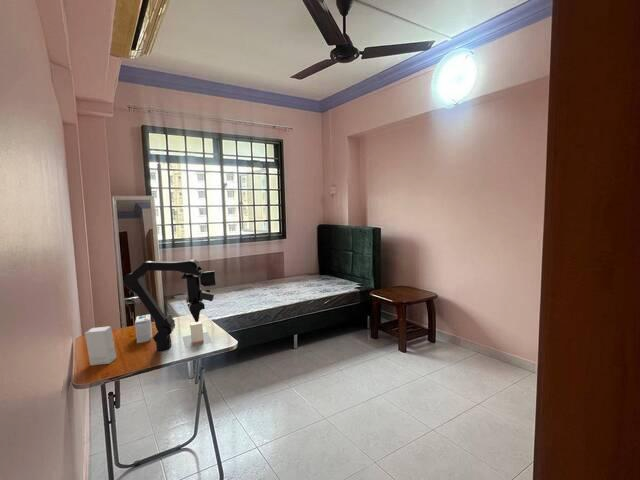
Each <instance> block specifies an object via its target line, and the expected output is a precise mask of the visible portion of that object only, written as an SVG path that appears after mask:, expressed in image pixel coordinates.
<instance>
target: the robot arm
mask: <svg viewBox="0 0 640 480" xmlns="http://www.w3.org/2000/svg"><path fill="white" fill-rule="evenodd" d="M150 271H153V272H154V271H158V272H160V271H161V272H165V271H167V272H168V271H169V272H170V271H171V272H179V273H183V275H182V276H181V277H180V279H181V280H185V282H186V283H185V284H186V294H187V296H186V297H185V302H186V304H187V307H188V308H187V309H188V311H189V312H190V315H192V316H191V317H192V318H193V320H194V322H198V321H200V320H199V319H200V315H201V311H202V310H205V309H206V308H205V306H206V305H205V303H204V302H203V301H209V302H213V301H214V297H215V294H214V293H213V292H211V290H210V288H209V289H208V288H206V289H205V290H202V288H201V286H203V287H213V286H215V287H216V286H217V285H218V277H217V273H216V270H210V271H205V270H204V269H203V268H202V266H200V263H199V261H198V260H196V259H195V258H191V259H185V260H180V261H157V260H156V261H153V260H147V261H144V262H142V263H141V265H140V266H138V267H137V268H136V269H135V270H134V271H132V272H130V273H127V274H125V276H124V277H123V279H122V280H123V281H122V283H123V285H124V286H125V287H126V288H127V289H128V290H129V291H131V292H132V293H134V294H135V295H136V296H137V298H138V299H139V300H140V301H141V303H142V305H143V306H144V308H146V310H147V312H148V313H149V314H150V317H152V318H153V320H154V325H155V328H156V333H155V334H154V336H152V339H153V341H154V342H155V347H156V352H165V351H168V350H170V349H171V348H172V338H171V334H172V332H173V331H174V329H175V328H176V323H175V322H176V320H175V319H174V318H173V316H172V314H168V315H167V314H165V313H164V312H163V310H162V309H161V307H160V306H159V304H158V303H157V302H156V300H155V299H154V297H153V295H151V293H150V292H149V290H148V289H147V286H146V282H145V279H144V276H146V275H147V273H149V272H150Z"/></svg>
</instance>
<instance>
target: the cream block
mask: <svg viewBox="0 0 640 480" xmlns="http://www.w3.org/2000/svg"><path fill="white" fill-rule="evenodd" d="M202 325H203V322H202V320H199V321H198V322H195V321H194V322H193V321H192V322H190V323H189V328H190V329H191V340H192V344H196V343H201V342H204V339H203V328H202Z"/></svg>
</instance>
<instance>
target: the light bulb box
mask: <svg viewBox="0 0 640 480" xmlns="http://www.w3.org/2000/svg"><path fill="white" fill-rule="evenodd" d="M151 317H152V316H151V315H150V313H149V314H144V315H138V316H136V317H135V321H134V328H135V336H136V344H140V343H141V344H142V343H147V342H151V341H152V339H153V329H152V319H151Z"/></svg>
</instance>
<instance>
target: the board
mask: <svg viewBox="0 0 640 480" xmlns="http://www.w3.org/2000/svg"><path fill="white" fill-rule="evenodd" d="M202 328H203V339H204V342H201V343H196V344H192V340H191V329H190V327H186V328H181V329H180V334H181V337H182V342H183V346H184V349H187V348H188V349H189V348H192V347H197V346H201V345H207V344H211V343H212V344H213V340H212V339H211V336H210V334H209V332H208V330H207V327H206V326H205V325H204V324H202Z"/></svg>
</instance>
